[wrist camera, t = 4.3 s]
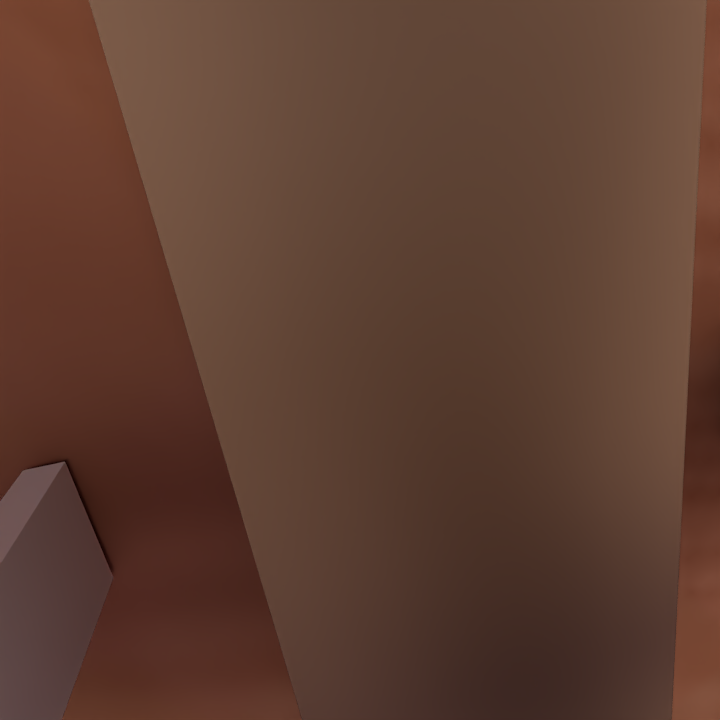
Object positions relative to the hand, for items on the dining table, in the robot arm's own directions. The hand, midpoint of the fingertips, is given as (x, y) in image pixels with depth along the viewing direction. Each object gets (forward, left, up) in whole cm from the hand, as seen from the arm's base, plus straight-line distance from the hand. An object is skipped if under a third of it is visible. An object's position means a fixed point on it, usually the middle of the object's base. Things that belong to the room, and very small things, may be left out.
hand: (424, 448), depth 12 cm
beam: (0, 0, 0) cm, 0 cm away
